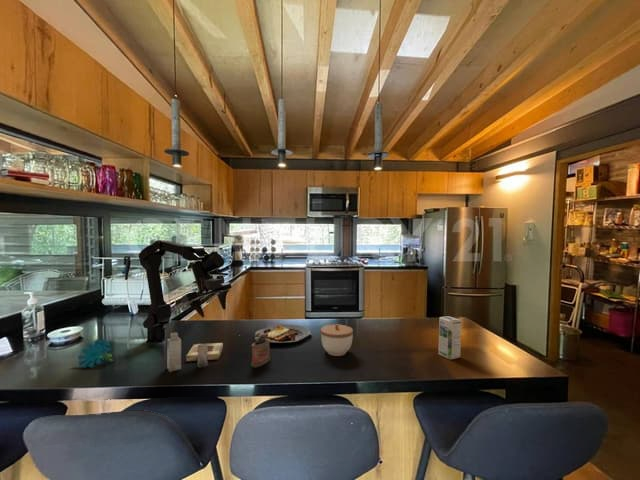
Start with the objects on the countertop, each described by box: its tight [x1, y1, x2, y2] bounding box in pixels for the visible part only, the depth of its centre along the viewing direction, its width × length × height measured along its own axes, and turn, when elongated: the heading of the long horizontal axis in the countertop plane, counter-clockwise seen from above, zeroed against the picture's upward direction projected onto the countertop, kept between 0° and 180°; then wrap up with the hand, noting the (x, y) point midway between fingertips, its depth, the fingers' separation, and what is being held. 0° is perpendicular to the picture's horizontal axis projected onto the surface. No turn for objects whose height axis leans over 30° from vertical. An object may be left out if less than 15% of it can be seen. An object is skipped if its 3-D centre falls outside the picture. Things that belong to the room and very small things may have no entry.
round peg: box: [197, 343, 209, 368], centre depth 102 cm, size 3×3×7 cm
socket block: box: [185, 342, 224, 362], centre depth 112 cm, size 11×11×2 cm
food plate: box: [254, 324, 312, 344], centre depth 132 cm, size 25×23×4 cm
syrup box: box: [438, 315, 462, 360], centre depth 112 cm, size 6×6×14 cm
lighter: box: [251, 333, 271, 368], centre depth 104 cm, size 8×3×10 cm, turn 148°
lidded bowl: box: [320, 323, 354, 357], centre depth 114 cm, size 13×13×11 cm
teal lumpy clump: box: [77, 339, 114, 369], centre depth 104 cm, size 11×6×10 cm
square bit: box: [166, 331, 182, 373], centre depth 99 cm, size 4×4×12 cm
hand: (214, 313), depth 114 cm, fingers open, 9 cm apart
